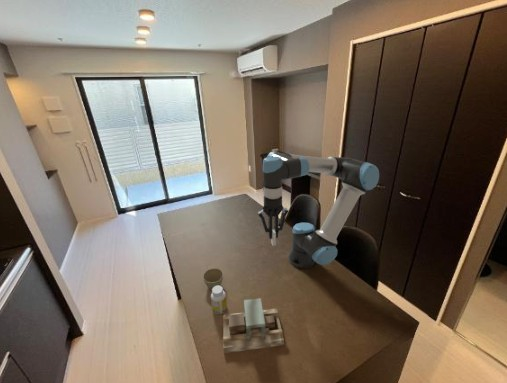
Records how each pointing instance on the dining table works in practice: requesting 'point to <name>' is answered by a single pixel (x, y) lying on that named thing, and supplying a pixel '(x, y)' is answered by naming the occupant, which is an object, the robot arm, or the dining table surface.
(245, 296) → the dining table surface
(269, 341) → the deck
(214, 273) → the flower pot
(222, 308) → the pill bottle
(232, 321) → the tan wooden bar
